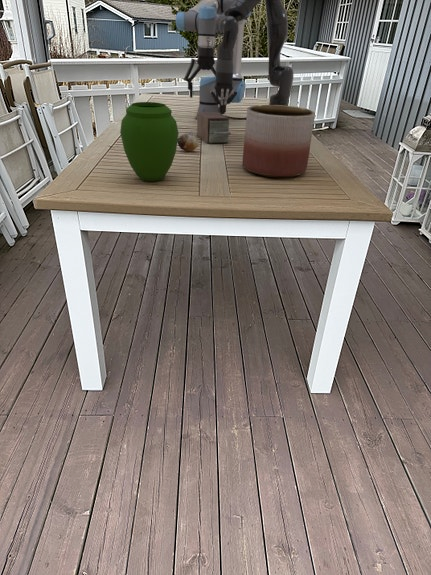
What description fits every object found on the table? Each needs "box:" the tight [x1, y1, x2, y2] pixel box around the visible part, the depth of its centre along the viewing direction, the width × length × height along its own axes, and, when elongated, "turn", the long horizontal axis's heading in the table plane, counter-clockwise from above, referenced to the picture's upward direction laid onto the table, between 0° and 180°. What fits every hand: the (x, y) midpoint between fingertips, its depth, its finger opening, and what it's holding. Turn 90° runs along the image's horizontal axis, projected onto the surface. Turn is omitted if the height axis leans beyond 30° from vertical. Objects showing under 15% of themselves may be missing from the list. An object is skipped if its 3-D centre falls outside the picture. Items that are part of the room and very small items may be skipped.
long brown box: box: [196, 112, 230, 145], centre depth 201 cm, size 17×10×11 cm, turn 19°
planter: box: [242, 104, 316, 179], centre depth 156 cm, size 25×25×22 cm
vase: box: [119, 101, 179, 182], centre depth 140 cm, size 20×20×24 cm
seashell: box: [177, 131, 200, 152], centre depth 179 cm, size 10×6×8 cm, turn 97°
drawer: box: [209, 120, 232, 142], centre depth 197 cm, size 22×9×10 cm, turn 19°
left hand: (204, 97), depth 199 cm, fingers open, 13 cm apart
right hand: (222, 113), depth 186 cm, fingers closed
